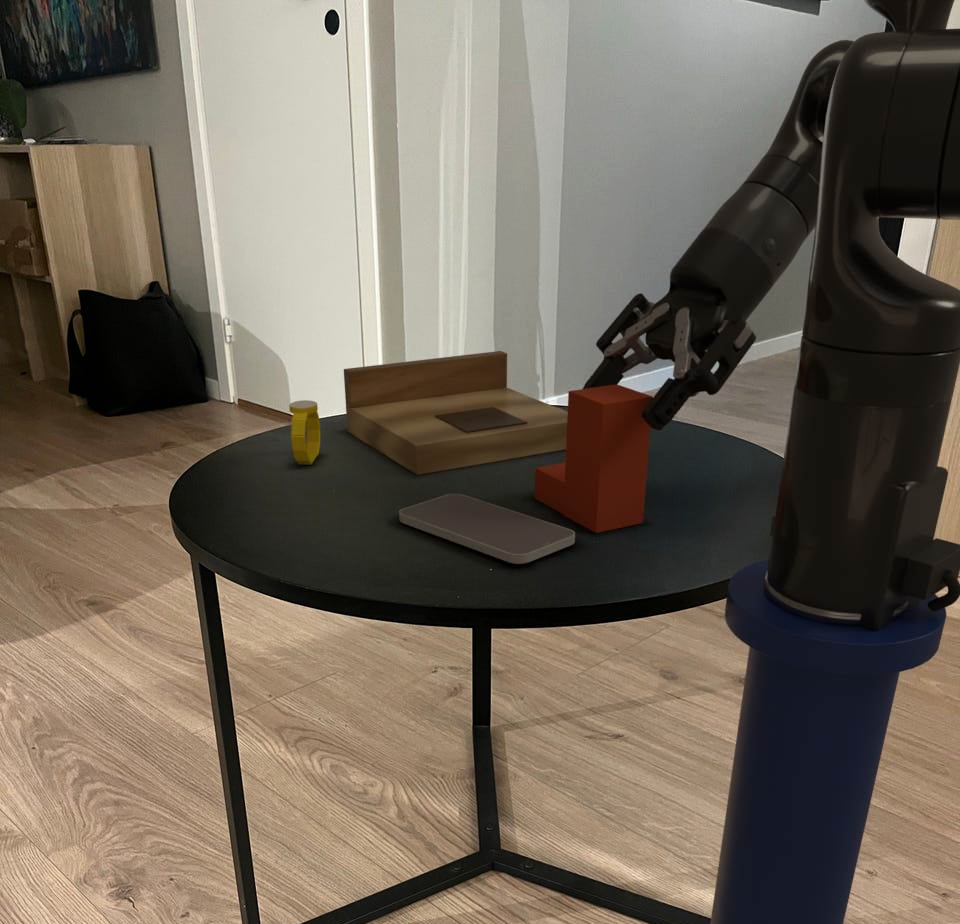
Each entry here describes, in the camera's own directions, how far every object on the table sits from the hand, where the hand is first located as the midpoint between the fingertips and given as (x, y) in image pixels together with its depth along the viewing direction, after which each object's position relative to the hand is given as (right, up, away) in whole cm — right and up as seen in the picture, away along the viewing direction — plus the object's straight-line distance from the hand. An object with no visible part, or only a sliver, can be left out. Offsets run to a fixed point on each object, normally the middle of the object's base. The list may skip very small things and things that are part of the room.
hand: (617, 411), depth 82 cm
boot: (-2, -7, +6) cm, 10 cm away
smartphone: (-11, -10, +1) cm, 15 cm away
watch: (-29, -1, +19) cm, 35 cm away
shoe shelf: (-13, +3, +26) cm, 30 cm away
